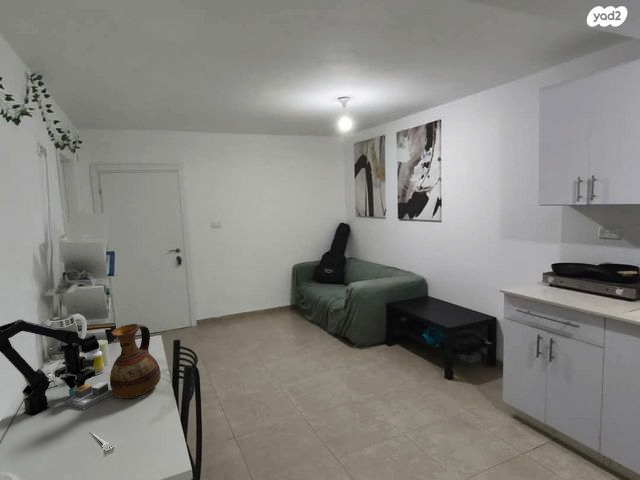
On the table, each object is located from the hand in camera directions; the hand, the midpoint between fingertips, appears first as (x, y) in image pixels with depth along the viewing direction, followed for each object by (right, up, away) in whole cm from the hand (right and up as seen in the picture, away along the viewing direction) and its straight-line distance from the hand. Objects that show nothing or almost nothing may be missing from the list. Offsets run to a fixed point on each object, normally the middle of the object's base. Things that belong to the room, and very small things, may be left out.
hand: (77, 391), depth 167 cm
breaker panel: (+8, -1, -4) cm, 9 cm away
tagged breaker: (+5, 0, -4) cm, 7 cm away
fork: (+30, -4, -34) cm, 45 cm away
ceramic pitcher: (+25, 0, +1) cm, 25 cm away
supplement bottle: (-4, 0, +22) cm, 22 cm away
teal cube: (0, -2, 0) cm, 2 cm away
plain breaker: (+12, +1, -3) cm, 12 cm away
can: (-9, +1, +32) cm, 34 cm away
